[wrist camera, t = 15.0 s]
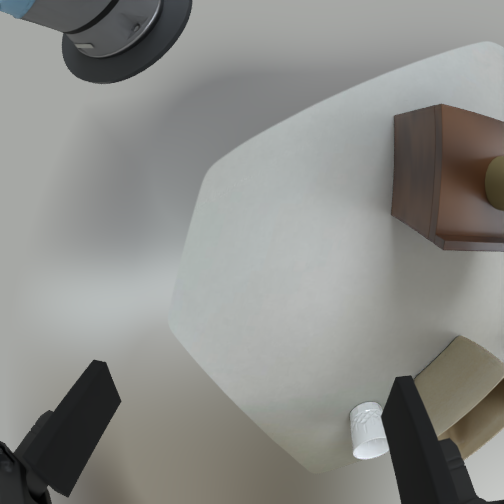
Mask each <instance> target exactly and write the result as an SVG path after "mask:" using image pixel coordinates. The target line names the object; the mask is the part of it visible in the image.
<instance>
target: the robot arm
mask: <svg viewBox="0 0 504 504" xmlns="http://www.w3.org/2000/svg"><path fill="white" fill-rule="evenodd" d="M163 5H164V0H0V11H2V12H5V13H7V14H10V15H13V17H14V18H18V19H23V20H26V21H29V22H33V23H36V24H39V25H42V26H46V27H49V28H52V29H54V30H57V31H60V32H63V33H65V34H66V35H67V36H68V37H69V39H70V40H71V41H73V43H74V45H75V46H76V47H77V48H78V50H79V51H80V52H82V53H83V54H85V55H88V56H90V57H93V58H97V59H108V58H113V57H116V56H119V55H121V54H123V53H125V52H127V51H129V50H131V49H132V48H134V47H135V46H136V45H138V44H139V43H140V42H141V41H142V40H144V39H145V37H146V36H147V35H148V34H149V33H150V32H151V31H152V29H153V28H154V27H155V25H156V24H157V22H158V20H159V18H160V16H161V13H162V10H163ZM120 403H121V399H120V397H119V394H118V392H117V389H116V387H115V385H114V382H113V379H112V377H111V374H110V372H109V369H108V366H107V364H106V362H102V361H97V360H93V361H92V362H91V364H90V365H89V366H88V368H87V369H86V370H85V371H84V373H83V374H82V375H81V376H80V378H79V379H78V380H77V381H76V383H75V384H74V385H73V387H72V388H71V389H70V391H69V392H68V393H67V395H66V396H65V397H64V399H63V400H62V401H61V403H60V404H59V405H58V407H57V408H56V409H55V411H54V412H53V411H50V410H49V411H47V412H45V413H44V414H43V415H41V416H40V418H39V419H38V420H37V422H36V423H35V425H34V426H33V427H32V428H31V431H29V433H28V434H27V435H26V436H25V438H24V439H23V441H22V442H21V444H20V445H19V446H18V448H17V449H16V450H15V452H14V453H12V452H11V450H10V449H9V448H8V447H7V446H6V444H5V443H3V442H1V441H0V504H52V502H51V498H50V494H49V491H48V489H47V486H48V485H49V486H50V487H51V488H52V489H54V490H55V491H56V492H58V493H60V494H62V495H64V496H66V497H69V495H70V493H71V491H72V489H73V488H74V486H75V484H76V482H77V479H78V478H79V476H80V474H81V472H82V470H83V469H84V467H85V465H86V463H87V461H88V459H89V458H90V456H91V454H92V452H93V451H94V449H95V447H96V445H97V443H98V442H99V440H100V438H101V436H102V434H103V433H104V431H105V429H106V427H107V425H108V424H109V422H110V420H111V418H112V417H113V415H114V413H115V412H116V410H117V408H118V406H119V405H120ZM381 420H382V424H383V427H384V431H385V435H386V439H387V443H388V446H389V450H390V454H391V459H392V463H393V467H394V471H395V476H396V480H397V484H398V489H399V494H400V499H401V504H504V500H499V501H492V502H486V501H485V500H484V499H482V498H479V497H478V496H477V495H476V493H475V491H474V488H473V485H472V482H471V479H470V477H469V474H468V471H467V469H466V466H464V461H463V458H461V453H460V451H459V448H458V446H457V445H456V444H455V443H454V442H453V441H452V440H451V439H450V438H447V439H443V440H438V438H437V435H436V433H435V430H434V428H433V425H432V423H431V420H430V418H429V415H428V413H427V410H426V408H425V406H424V403H423V401H422V399H421V397H420V394H419V392H418V390H417V388H416V385H415V383H414V381H413V379H412V377H411V376H403V377H396V378H395V381H394V384H393V387H392V389H391V392H390V395H389V397H388V400H387V402H386V405H385V407H384V410H383V412H382V415H381Z"/></svg>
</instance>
